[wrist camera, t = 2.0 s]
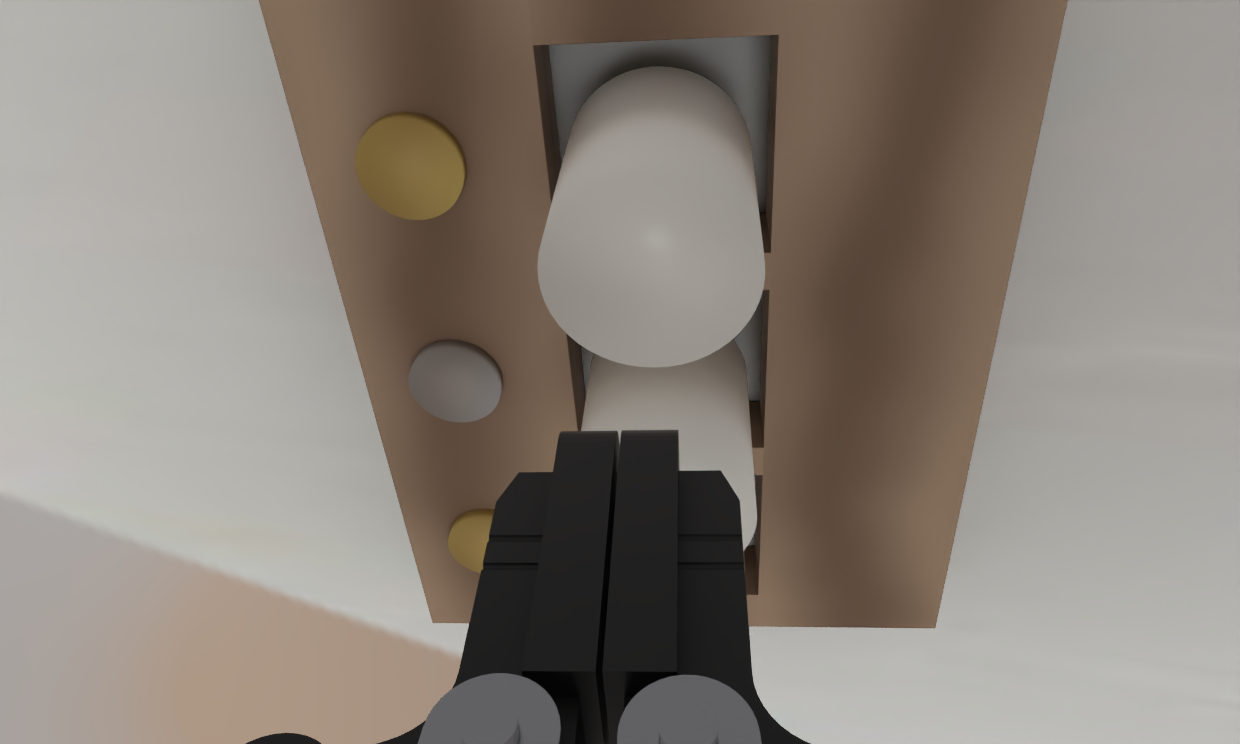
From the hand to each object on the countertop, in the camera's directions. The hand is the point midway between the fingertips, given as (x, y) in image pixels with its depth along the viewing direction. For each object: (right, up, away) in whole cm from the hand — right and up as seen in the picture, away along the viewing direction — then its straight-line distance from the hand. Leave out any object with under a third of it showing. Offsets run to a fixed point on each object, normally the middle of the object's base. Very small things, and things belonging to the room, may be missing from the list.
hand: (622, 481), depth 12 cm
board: (+1, +3, +14) cm, 14 cm away
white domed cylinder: (+1, +6, +8) cm, 10 cm away
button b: (+1, +1, +12) cm, 12 cm away
